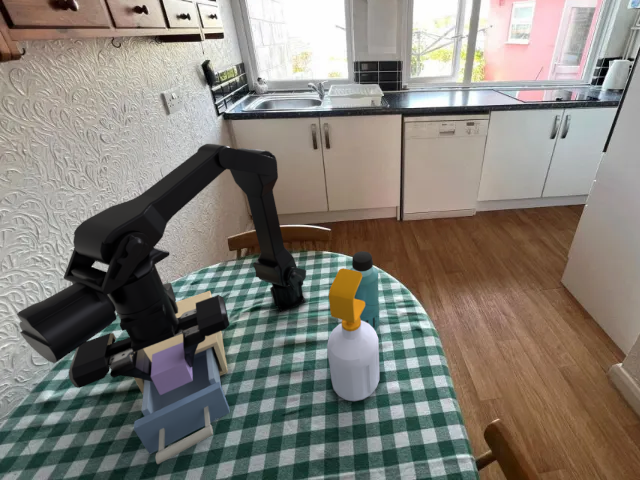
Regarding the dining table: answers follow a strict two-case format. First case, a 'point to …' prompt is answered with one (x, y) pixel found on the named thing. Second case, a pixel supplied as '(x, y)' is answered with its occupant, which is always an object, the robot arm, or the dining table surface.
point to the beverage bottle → (367, 287)
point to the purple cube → (170, 369)
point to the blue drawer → (182, 409)
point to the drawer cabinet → (206, 344)
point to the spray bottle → (351, 341)
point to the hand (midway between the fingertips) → (175, 372)
